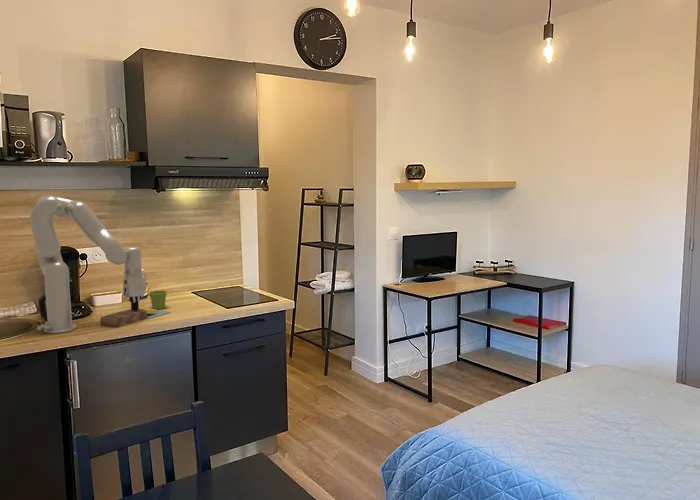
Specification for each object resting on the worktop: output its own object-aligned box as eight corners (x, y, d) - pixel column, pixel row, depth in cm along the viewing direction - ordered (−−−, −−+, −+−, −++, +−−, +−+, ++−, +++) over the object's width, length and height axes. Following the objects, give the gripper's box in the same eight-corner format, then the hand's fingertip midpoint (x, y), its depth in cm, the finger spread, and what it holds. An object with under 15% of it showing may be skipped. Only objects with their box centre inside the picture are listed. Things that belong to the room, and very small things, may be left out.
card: (143, 313, 256) (143, 309, 257) (134, 312, 259) (135, 308, 259) (157, 313, 265) (157, 309, 265) (148, 312, 267) (149, 308, 267)
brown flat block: (115, 327, 240) (115, 319, 239) (100, 325, 244) (100, 317, 244) (146, 318, 256) (146, 310, 255) (132, 316, 260) (131, 308, 260)
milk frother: (63, 316, 261) (61, 287, 260) (86, 319, 255) (84, 289, 253) (36, 323, 248) (34, 292, 247) (60, 326, 242) (58, 295, 240)
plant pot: (155, 311, 271) (154, 294, 270) (145, 308, 278) (144, 292, 276) (171, 307, 278) (170, 291, 277) (162, 305, 285) (161, 289, 283)
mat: (149, 318, 256) (149, 318, 256) (131, 316, 261) (131, 315, 261) (170, 312, 268) (170, 312, 268) (153, 310, 274) (153, 309, 273)
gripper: (126, 275, 245) (128, 314, 247) (151, 270, 258) (152, 307, 261) (114, 274, 248) (116, 312, 250) (139, 269, 262) (141, 306, 264)
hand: (135, 309), depth 255 cm, fingers closed
